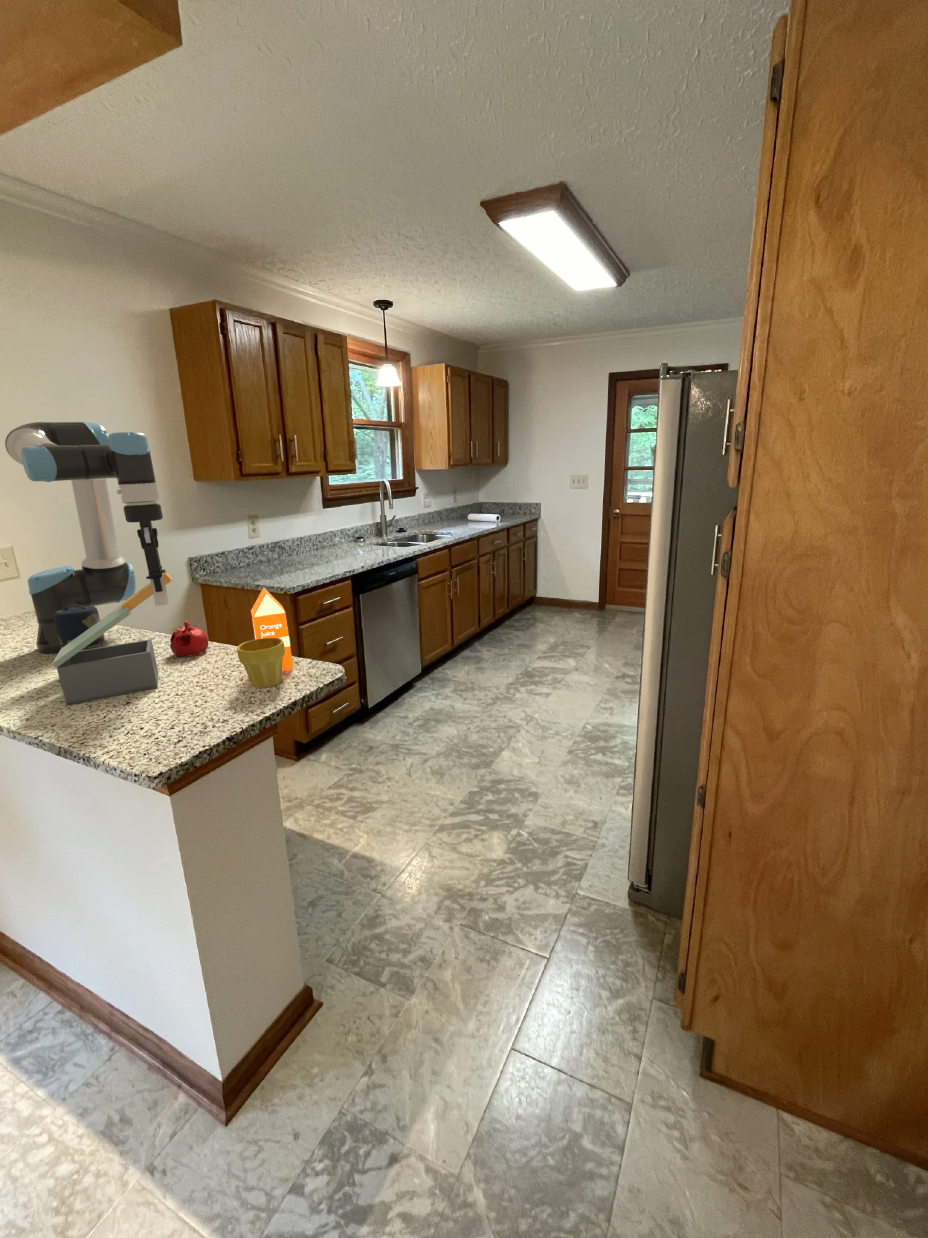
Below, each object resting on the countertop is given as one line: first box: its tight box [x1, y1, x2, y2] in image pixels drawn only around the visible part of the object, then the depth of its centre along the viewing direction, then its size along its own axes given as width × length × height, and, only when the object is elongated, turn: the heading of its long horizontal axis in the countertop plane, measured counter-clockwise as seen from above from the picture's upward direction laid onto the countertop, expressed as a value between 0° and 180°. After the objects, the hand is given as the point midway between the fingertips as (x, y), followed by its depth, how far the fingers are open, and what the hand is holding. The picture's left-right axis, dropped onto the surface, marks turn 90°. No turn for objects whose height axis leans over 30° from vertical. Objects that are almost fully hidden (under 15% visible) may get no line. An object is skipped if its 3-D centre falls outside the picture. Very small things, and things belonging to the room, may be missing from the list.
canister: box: [53, 605, 107, 651], centre depth 143 cm, size 10×10×18 cm
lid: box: [51, 571, 173, 669], centre depth 129 cm, size 13×30×2 cm
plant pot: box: [236, 637, 285, 689], centre depth 130 cm, size 10×10×10 cm
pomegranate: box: [169, 621, 209, 657], centre depth 155 cm, size 10×10×9 cm
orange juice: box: [250, 586, 294, 671], centre depth 140 cm, size 8×9×20 cm
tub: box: [56, 638, 159, 706], centre depth 132 cm, size 12×18×9 cm, turn 117°
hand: (162, 602), depth 133 cm, fingers closed on lid, 4 cm apart
